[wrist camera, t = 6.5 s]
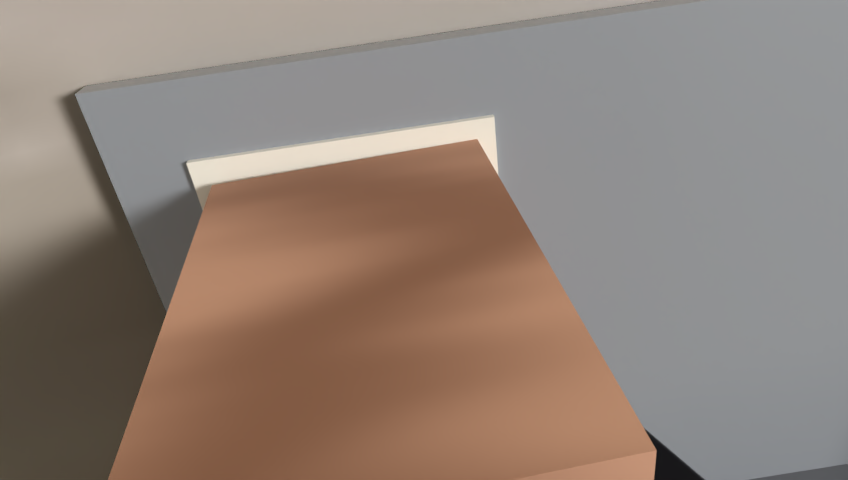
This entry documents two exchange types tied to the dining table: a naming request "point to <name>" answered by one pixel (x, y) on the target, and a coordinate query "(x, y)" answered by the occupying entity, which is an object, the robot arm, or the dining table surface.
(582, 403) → the terracotta block
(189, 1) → the dining table surface
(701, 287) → the two-wall tray
